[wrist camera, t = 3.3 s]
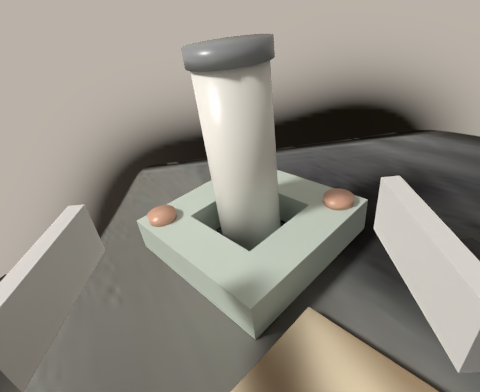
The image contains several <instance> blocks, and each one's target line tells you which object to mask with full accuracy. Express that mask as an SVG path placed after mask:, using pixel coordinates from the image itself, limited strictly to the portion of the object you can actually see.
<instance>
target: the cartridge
mask: <svg viewBox="0 0 480 392" xmlns="http://www.w3.org/2000/svg"><path fill="white" fill-rule="evenodd" d="M181 51H182V56H183V60H184V65H185V69H186V70H188V71H190V72H191V77H192V82H193V87H194V92H195V97H196V102H197V107H198V112H199V118H200V123H201V128H202V133H203V138H204V143H205V148H206V153H207V159H208V164H209V169H210V174H211V179H212V184H213V189H214V194H215V199H216V204H217V210H218V215H219V220H220V225H221V230H222V235H223V236H225V237H226V238H228V239H230V240H231V241H233V242H235V243H236V244H238V245H240V246H241V247H243V248H245V249H246V250H248V251H251V250H252V249H253V248H255V247H256V246H257V245H259V244H260V243H261V242H262V241H264V240H265V239H266V238H268V237H269V236H270V235H271V234H273V233H274V232H275V231H276V230H278V229H279V228H280V227H281V225H280V209H279V193H278V178H277V162H276V146H275V131H274V116H273V100H272V84H271V68H270V60H271V59H273V58H274V57H275V56H274V38H273V34H254V35H243V36H234V37H227V38H220V39H214V40H208V41H203V42H198V43H193V44H189V45H186V46H183V47H182V48H181Z"/></svg>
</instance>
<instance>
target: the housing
mask: <svg viewBox="0 0 480 392" xmlns="http://www.w3.org/2000/svg"><path fill="white" fill-rule="evenodd" d="M277 178H278V193H279V209H280V220H283V221H285V222H287V223H285V224H284V225H283V226H282V227H280V228H279V229H278V230H276V231H275V232H274V233H273V234H271V235H270V236H269V237H268V238H266V239H265V240H264V241H262V242H261V243H260V244H259V245H257V246H256V247H255V248H253V249H252V250H251V251H248V250H246V249H245V248H243V247H241V246H240V245H238V244H236V243H235V242H233V241H231V240H230V239H228V238H226V237H225V236H223V235H221V234H220V233H218V232H216V231H215V230H216V229H218V228H219V227H221V225H220V220H219V215H218V210H217V204H216V199H215V194H214V189H213V184H212V180H211V181H209V182H207V183H205V184H203V185H202V186H200V187H198V188H196V189H194V190H192V191H191V192H189V193H187V194H185V195H183V196H181V197H180V198H178V199H176V200H174V201H172V202H170V203H168V204H167V205H162V206H158V207H156V208H154V209H152V210H151V211H150V212H149V213H148V215H146V216H145V217H143V218H141V219H139V220H137V223H138V226H139V229H140V231H141V234H142V237H143V239H144V242H145V245H146V247H147V248H148V249H150V250H151V251H152V252H153V253H154V254H155V255H157V256H158V257H159V258H160V259H161V260H162V261H164V262H165V263H166V264H167V265H168V266H170V267H171V268H172V269H173V270H174V271H175V272H177V273H178V274H179V275H180V276H181V277H182V278H184V279H185V280H186V281H187V282H188V283H189V284H191V285H192V286H193V287H194V288H195V289H197V290H198V291H199V292H200V293H201V294H202V295H204V296H205V297H206V298H207V299H208V300H209V301H211V302H212V303H213V304H214V305H215V306H216V307H218V308H219V309H220V310H221V311H222V312H224V313H225V314H226V315H227V316H228V317H229V318H231V319H232V320H233V321H234V322H235V323H236V324H238V325H239V326H240V327H241V328H242V329H243V330H245V331H246V332H247V333H248V334H249V335H250V336H252V337H253V338H254V339H255V340H256V339H257V338H258V337H259V336H260V335H261V334H262V333H263V332H264V331H265V330H266V329H267V328H268V327H269V326H270V325H271V324H272V323H273V322H274V321H275V319H276V318H277V317H278V316H279V315H280V314H281V313H282V312H283V311H284V310H285V309H286V308H287V307H288V306H289V305H290V304H291V303H292V302H293V301H294V300H295V299H296V298H297V297H298V296H299V295H300V294H301V293H302V292H303V291H304V290H305V289H306V288H307V287H308V286H309V285H310V283H311V282H312V281H313V280H314V279H315V278H316V277H317V276H318V275H319V274H320V273H321V272H322V271H323V270H324V269H325V268H326V267H327V266H328V265H329V264H330V263H331V262H332V261H333V260H334V259H335V258H336V257H337V256H338V255H339V254H340V253H341V252H342V251H343V250H344V248H345V247H346V246H347V245H348V244H349V243H350V242H351V241H352V240H353V239H354V238H355V237H356V236H357V235H358V234H359V233H360V232H361V231H362V230H363V229H364V227H365V219H366V211H367V203H368V199H365V198H362V197H359V196H356V195H353V193H351V192H350V191H348V190H345V189H334V188H331V187H328V186H325V185H322V184H319V183H316V182H313V181H310V180H306V179H303V178H300V177H297V176H294V175H291V174H288V173H285V172H282V171H279V170H277Z"/></svg>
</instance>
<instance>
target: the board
mask: <svg viewBox="0 0 480 392" xmlns="http://www.w3.org/2000/svg"><path fill="white" fill-rule="evenodd" d="M231 392H439V391H437V390H436V389H434V388H433V387H431V386H430V385H428V384H427V383H425V382H423V381H422V380H420V379H419V378H417V377H416V376H414V375H413V374H411V373H410V372H408V371H407V370H405V369H403V368H402V367H400V366H399V365H397V364H396V363H394V362H393V361H391V360H390V359H388V358H387V357H385V356H384V355H382V354H380V353H379V352H377V351H376V350H374V349H373V348H371V347H370V346H368V345H367V344H365V343H364V342H362V341H360V340H359V339H357V338H356V337H354V336H353V335H351V334H350V333H348V332H347V331H345V330H344V329H342V328H341V327H339V326H337V325H336V324H334V323H333V322H331V321H330V320H328V319H327V318H325V317H324V316H322V315H321V314H319V313H317V312H316V311H314V310H313V309H311V308H310V307H308V308H307V309H306V310H305V311H304V312H303V313H302V314H301V316H300V317H299V318H298V319H297V320H296V321H295V322H294V323H293V324H292V325H291V327H290V328H289V329H288V330H287V331H286V332H285V333H284V334H283V335H282V336H281V337H280V339H279V340H278V341H277V342H276V343H275V344H274V345H273V346H272V347H271V348H270V349H269V351H268V352H267V353H266V354H265V355H264V356H263V357H262V358H261V359H260V360H259V362H258V363H257V364H256V365H255V366H254V367H253V368H252V369H251V370H250V371H249V372H248V374H247V375H246V376H245V377H244V378H243V379H242V380H241V381H240V382H239V383H238V384H237V386H236V387H235V388H234V389H233V390H232V391H231Z"/></svg>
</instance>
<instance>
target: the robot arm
mask: <svg viewBox="0 0 480 392" xmlns="http://www.w3.org/2000/svg"><path fill="white" fill-rule="evenodd" d="M374 230H375V232H376V234H377V236H378V237H379V239H380V241H381V242H382V244H383V246H384V247H385V249H386V251H387V253H388V254H389V256H390V258H391V259H392V261H393V263H394V264H395V266H396V268H397V270H398V271H399V273H400V275H401V276H402V278H403V280H404V281H405V283H406V285H407V287H408V288H409V290H410V292H411V293H412V295H413V297H414V298H415V300H416V302H417V304H418V305H419V307H420V309H421V310H422V312H423V314H424V315H425V317H426V319H427V321H428V322H429V324H430V326H431V327H432V329H433V331H434V332H435V334H436V336H437V337H438V339H439V341H440V343H441V344H442V346H443V348H444V349H445V351H446V353H447V354H448V356H449V358H450V360H451V361H452V363H453V365H454V366H455V368H456V370H457V371H458V373H470V372H480V243H479V242H478V241H476V240H474V239H473V238H468V239H459V238H458V237H457V236H456V235H455V234H454V233H453V232H452V231H451V230H450V229H449V228H448V227H447V226H446V225H445V223H444V222H443V221H442V220H441V219H440V218H439V217H438V216H437V215H436V214H435V213H434V212H433V211H432V210H431V209H430V207H429V206H428V205H427V204H426V203H425V202H424V201H423V200H422V199H421V198H420V197H419V196H418V195H417V194H416V192H415V191H414V190H413V189H412V188H411V187H410V186H409V185H408V184H407V183H406V182H405V181H404V180H403V179H402V177H401V176H390V177H381V181H380V188H379V195H378V202H377V208H376V215H375V222H374ZM104 252H105V248H104V246H103V244H102V242H101V240H100V237H99V235H98V233H97V231H96V229H95V227H94V224H93V222H92V220H91V218H90V216H89V213H88V211H87V209H86V207H85V205H74V206H68V207H67V208H66V209H65V210H64V211H63V212H62V214H61V215H60V216H59V217H58V218H57V219H56V220H55V221H54V223H53V224H52V225H51V226H50V227H49V228H48V229H47V230H46V232H45V233H44V234H43V235H42V236H41V237H40V238H39V239H38V240H37V241H36V243H35V244H34V245H33V246H32V247H31V248H30V249H29V251H27V253H26V254H25V255H24V256H23V257H22V258H21V259H20V260H19V262H18V263H17V264H16V265H15V266H14V267H13V268H12V269H11V270H10V272H9V273H8V274H6V275H4V276H3V277H1V278H0V392H24V390H25V388H26V387H27V385H28V383H29V381H30V380H31V378H32V376H33V375H34V373H35V371H36V369H37V368H38V366H39V364H40V362H41V361H42V359H43V357H44V356H45V354H46V352H47V350H48V349H49V347H50V345H51V343H52V342H53V340H54V338H55V336H56V335H57V333H58V331H59V330H60V328H61V326H62V324H63V323H64V321H65V319H66V317H67V316H68V314H69V312H70V311H71V309H72V307H73V305H74V304H75V302H76V300H77V298H78V297H79V295H80V293H81V291H82V290H83V288H84V286H85V285H86V283H87V281H88V279H89V278H90V276H91V274H92V272H93V271H94V269H95V267H96V266H97V264H98V262H99V260H100V259H101V257H102V255H103V253H104Z"/></svg>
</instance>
